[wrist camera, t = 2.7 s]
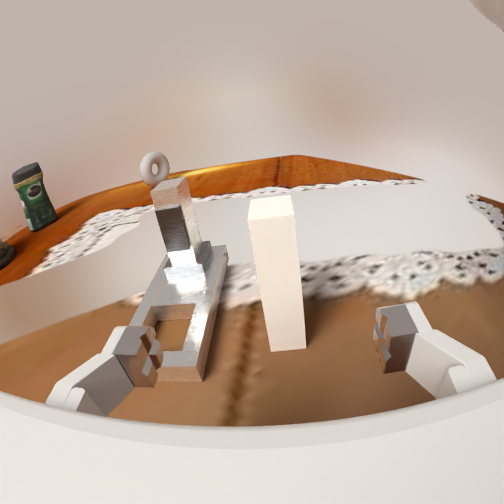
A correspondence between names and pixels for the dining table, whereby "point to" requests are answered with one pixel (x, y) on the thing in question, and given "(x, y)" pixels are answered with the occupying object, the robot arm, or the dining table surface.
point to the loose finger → (278, 270)
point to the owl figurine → (6, 254)
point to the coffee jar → (34, 196)
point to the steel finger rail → (183, 283)
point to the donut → (147, 168)
